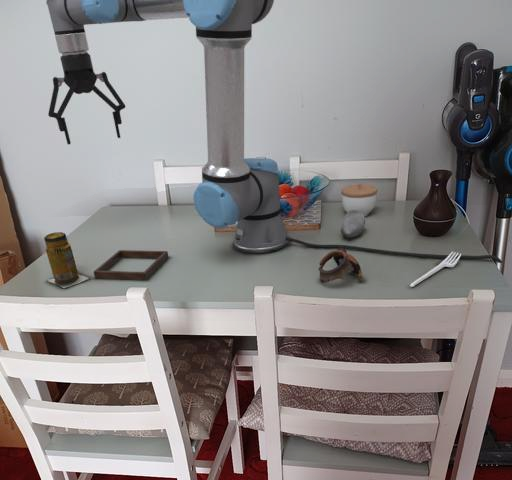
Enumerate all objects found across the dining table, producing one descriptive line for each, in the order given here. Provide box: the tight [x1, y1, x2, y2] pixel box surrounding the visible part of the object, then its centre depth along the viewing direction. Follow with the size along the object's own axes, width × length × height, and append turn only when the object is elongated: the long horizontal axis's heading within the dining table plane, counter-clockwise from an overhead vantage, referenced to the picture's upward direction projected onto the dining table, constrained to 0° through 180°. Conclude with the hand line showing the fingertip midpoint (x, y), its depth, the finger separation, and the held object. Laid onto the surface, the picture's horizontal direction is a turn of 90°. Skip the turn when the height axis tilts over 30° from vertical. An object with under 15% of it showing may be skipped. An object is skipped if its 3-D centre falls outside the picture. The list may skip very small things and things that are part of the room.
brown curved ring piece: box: [318, 248, 364, 283], centre depth 123 cm, size 12×10×8 cm
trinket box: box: [341, 182, 378, 217], centre depth 160 cm, size 11×11×9 cm
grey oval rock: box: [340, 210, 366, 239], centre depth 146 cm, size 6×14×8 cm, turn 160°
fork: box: [409, 251, 462, 288], centre depth 122 cm, size 3×20×2 cm, turn 134°
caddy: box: [93, 249, 169, 281], centre depth 139 cm, size 15×15×2 cm
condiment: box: [43, 231, 90, 289], centre depth 133 cm, size 7×8×12 cm
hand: (94, 140), depth 146 cm, fingers open, 13 cm apart
